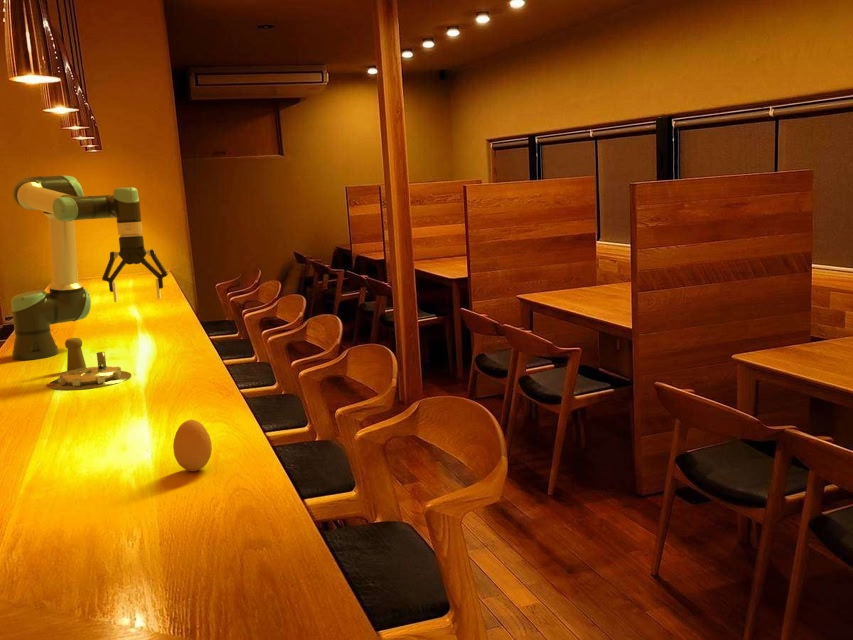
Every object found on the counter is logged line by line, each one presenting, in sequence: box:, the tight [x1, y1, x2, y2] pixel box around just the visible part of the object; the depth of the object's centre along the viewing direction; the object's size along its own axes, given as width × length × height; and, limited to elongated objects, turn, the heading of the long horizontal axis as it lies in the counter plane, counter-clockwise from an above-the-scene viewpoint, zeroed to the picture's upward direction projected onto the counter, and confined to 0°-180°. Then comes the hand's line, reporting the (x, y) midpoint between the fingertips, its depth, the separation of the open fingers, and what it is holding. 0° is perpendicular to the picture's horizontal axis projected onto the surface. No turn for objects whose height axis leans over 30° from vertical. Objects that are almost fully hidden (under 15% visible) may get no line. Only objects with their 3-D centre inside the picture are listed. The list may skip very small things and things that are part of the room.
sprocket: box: [57, 351, 122, 386], centre depth 249 cm, size 19×19×7 cm
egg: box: [172, 419, 213, 472], centre depth 164 cm, size 8×8×11 cm
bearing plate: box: [46, 370, 132, 391], centre depth 250 cm, size 24×24×1 cm
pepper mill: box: [64, 337, 87, 372], centre depth 263 cm, size 6×6×11 cm
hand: (138, 300), depth 263 cm, fingers open, 13 cm apart
